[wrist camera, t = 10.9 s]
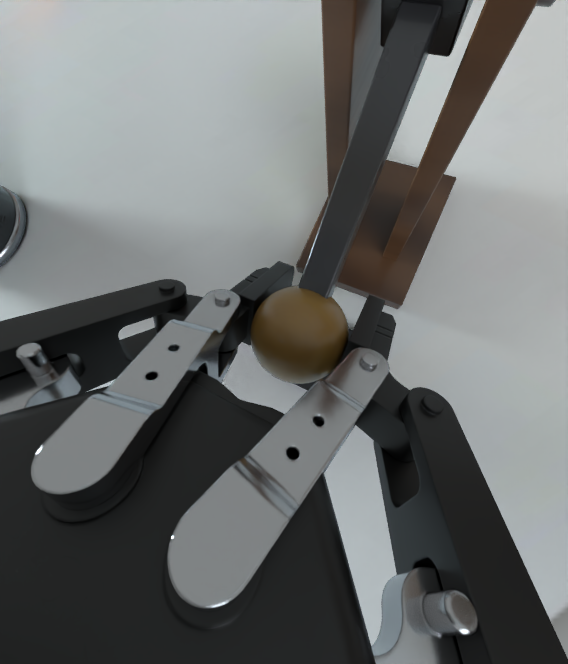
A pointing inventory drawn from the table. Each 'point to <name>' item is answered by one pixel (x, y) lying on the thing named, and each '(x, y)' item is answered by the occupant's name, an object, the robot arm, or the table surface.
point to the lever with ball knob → (352, 196)
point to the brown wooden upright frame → (395, 179)
